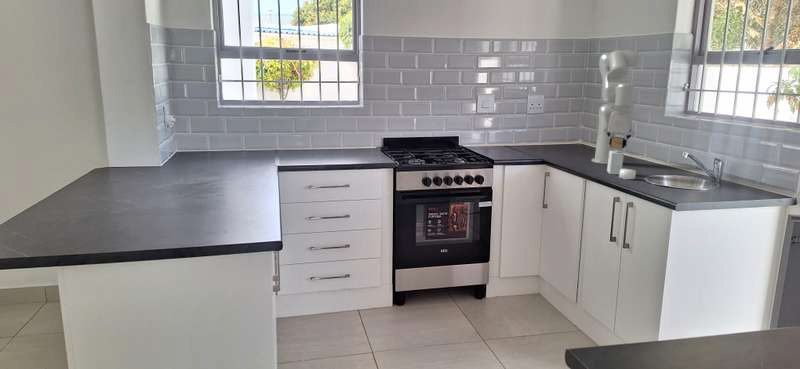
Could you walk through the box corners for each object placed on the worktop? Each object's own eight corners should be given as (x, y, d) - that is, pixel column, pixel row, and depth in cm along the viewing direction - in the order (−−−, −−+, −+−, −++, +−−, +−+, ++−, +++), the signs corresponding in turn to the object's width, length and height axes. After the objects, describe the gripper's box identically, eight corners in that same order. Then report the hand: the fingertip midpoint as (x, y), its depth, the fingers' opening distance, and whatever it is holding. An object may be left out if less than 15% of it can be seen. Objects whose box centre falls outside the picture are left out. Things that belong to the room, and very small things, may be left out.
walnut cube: (613, 146, 278) (614, 136, 277) (623, 148, 276) (625, 138, 275) (610, 147, 274) (612, 137, 273) (621, 149, 272) (622, 138, 271)
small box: (621, 175, 274) (624, 153, 271) (609, 174, 275) (612, 152, 272) (618, 172, 281) (621, 151, 279) (606, 171, 282) (609, 150, 280)
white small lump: (619, 176, 271) (621, 168, 270) (635, 178, 268) (636, 170, 267) (618, 178, 265) (619, 170, 264) (633, 180, 262) (635, 172, 261)
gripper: (602, 108, 272) (597, 145, 276) (639, 111, 263) (634, 149, 267) (606, 107, 279) (601, 144, 283) (642, 110, 270) (637, 148, 274)
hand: (617, 146), depth 275 cm, fingers closed on walnut cube, 5 cm apart
